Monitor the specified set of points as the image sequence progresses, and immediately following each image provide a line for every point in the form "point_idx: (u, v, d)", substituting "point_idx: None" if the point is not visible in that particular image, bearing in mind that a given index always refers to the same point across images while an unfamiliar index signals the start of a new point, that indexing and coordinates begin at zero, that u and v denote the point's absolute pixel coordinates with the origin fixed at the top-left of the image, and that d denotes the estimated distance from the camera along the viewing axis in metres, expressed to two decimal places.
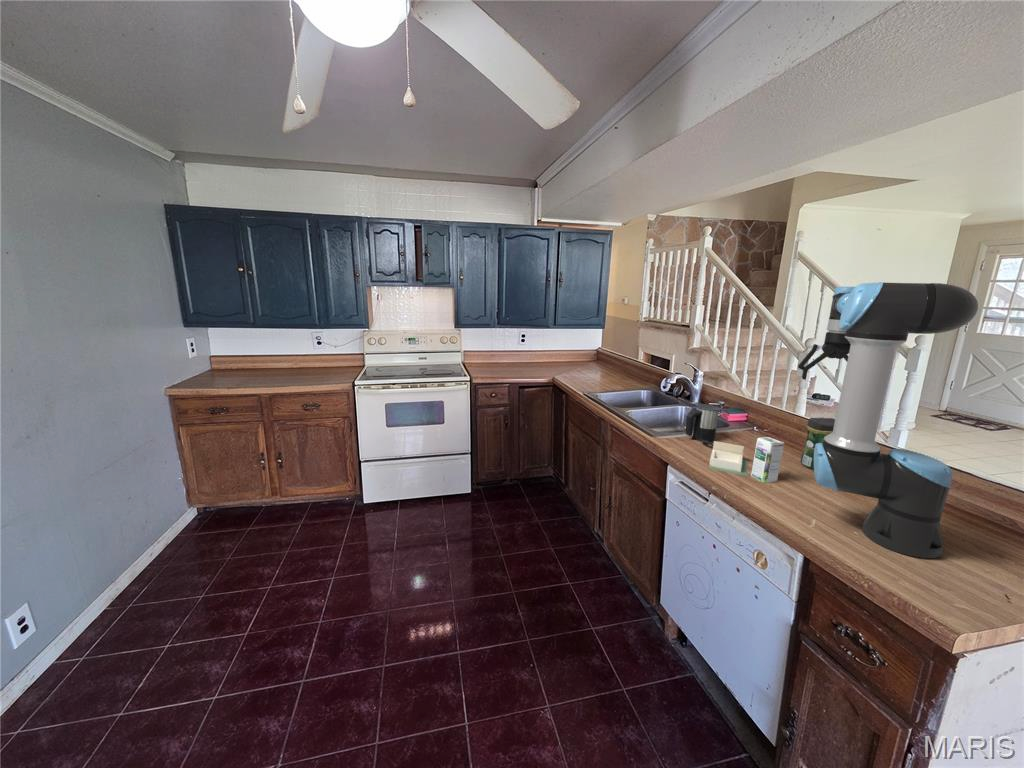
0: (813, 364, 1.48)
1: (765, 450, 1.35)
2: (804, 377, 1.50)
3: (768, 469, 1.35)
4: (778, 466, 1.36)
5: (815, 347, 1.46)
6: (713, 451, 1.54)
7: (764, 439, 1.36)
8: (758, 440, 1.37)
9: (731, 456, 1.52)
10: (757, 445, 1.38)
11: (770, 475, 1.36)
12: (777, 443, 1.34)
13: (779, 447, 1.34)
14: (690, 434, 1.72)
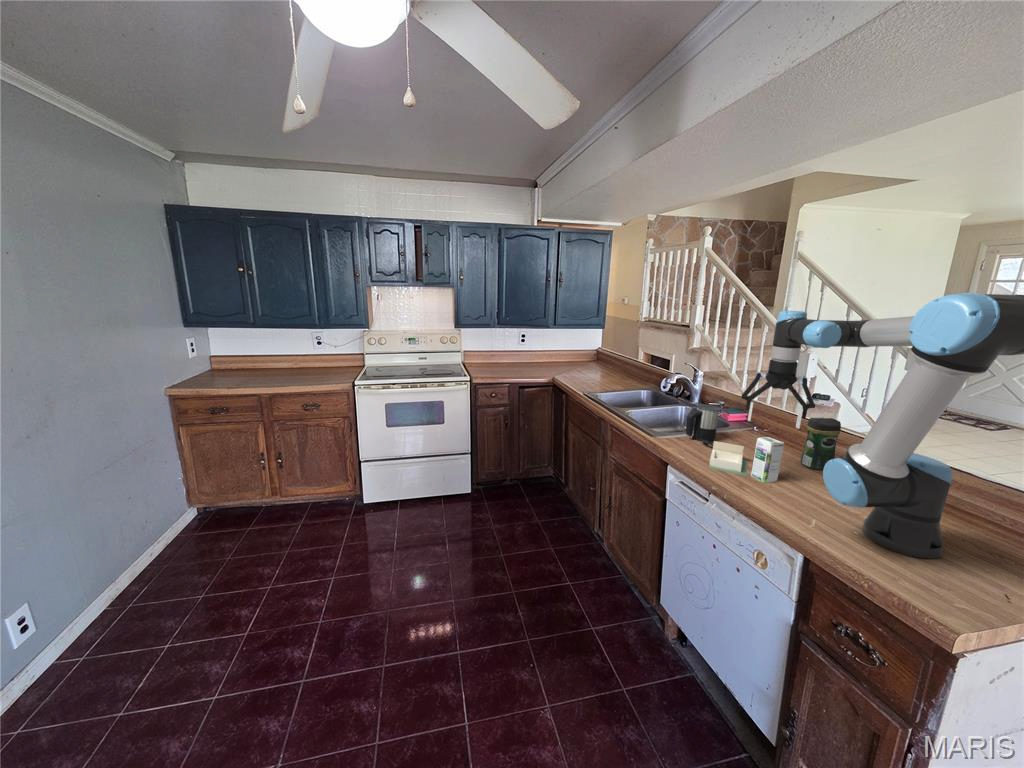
0: (756, 394, 1.35)
1: (765, 450, 1.35)
2: (747, 408, 1.37)
3: (768, 469, 1.35)
4: (778, 466, 1.36)
5: (758, 376, 1.33)
6: (713, 451, 1.54)
7: (764, 439, 1.36)
8: (758, 440, 1.37)
9: (731, 456, 1.52)
10: (757, 445, 1.38)
11: (770, 475, 1.36)
12: (777, 443, 1.34)
13: (779, 447, 1.34)
14: (690, 434, 1.72)
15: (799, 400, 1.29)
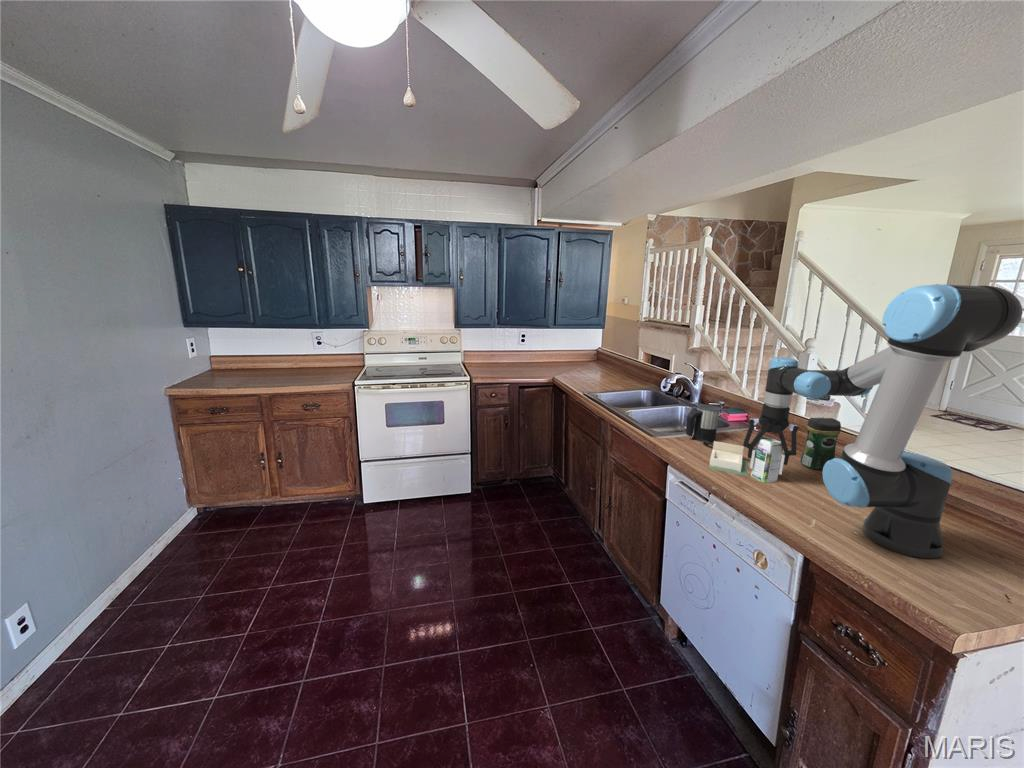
0: (756, 441, 1.37)
1: (764, 450, 1.35)
2: (749, 456, 1.39)
3: (768, 469, 1.35)
4: (778, 466, 1.36)
5: (752, 422, 1.37)
6: (713, 451, 1.54)
7: (764, 439, 1.36)
8: None
9: (731, 456, 1.52)
10: (757, 445, 1.38)
11: (770, 475, 1.36)
12: (777, 443, 1.34)
13: (779, 447, 1.34)
14: (690, 434, 1.72)
15: (784, 446, 1.33)
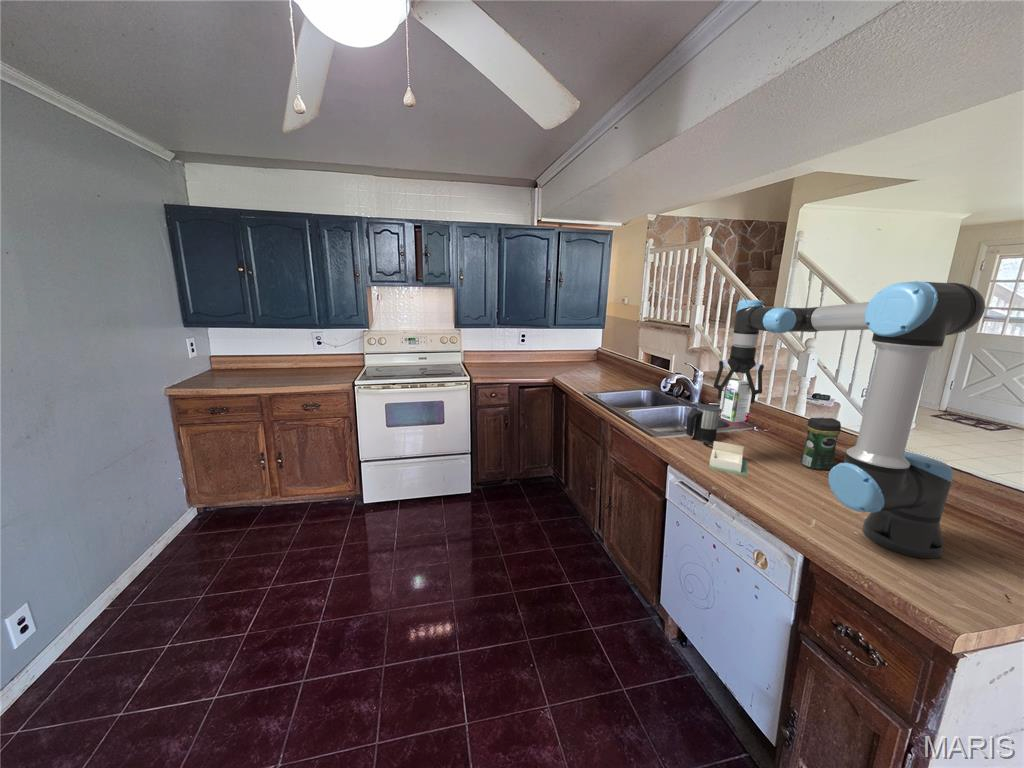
0: (725, 382, 1.44)
1: (733, 389, 1.42)
2: (719, 396, 1.46)
3: (736, 407, 1.42)
4: (746, 405, 1.43)
5: (721, 364, 1.43)
6: (713, 451, 1.54)
7: (732, 379, 1.43)
8: None
9: (731, 456, 1.52)
10: (726, 386, 1.45)
11: (738, 414, 1.43)
12: (744, 382, 1.40)
13: (746, 386, 1.41)
14: (691, 434, 1.72)
15: (750, 385, 1.40)
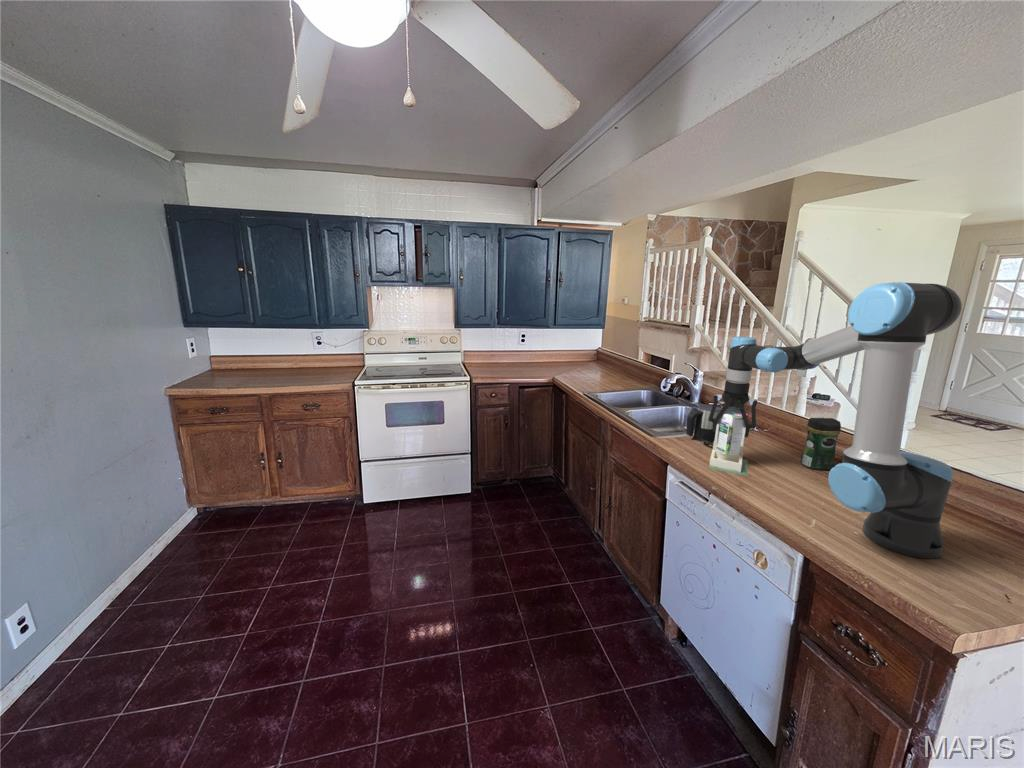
0: (720, 416, 1.47)
1: (727, 423, 1.45)
2: (714, 429, 1.49)
3: (730, 441, 1.44)
4: (740, 438, 1.46)
5: (715, 398, 1.46)
6: (713, 451, 1.54)
7: (727, 413, 1.46)
8: None
9: (731, 456, 1.52)
10: (721, 419, 1.48)
11: (733, 447, 1.45)
12: (738, 416, 1.43)
13: (740, 420, 1.44)
14: (691, 434, 1.72)
15: (744, 420, 1.43)
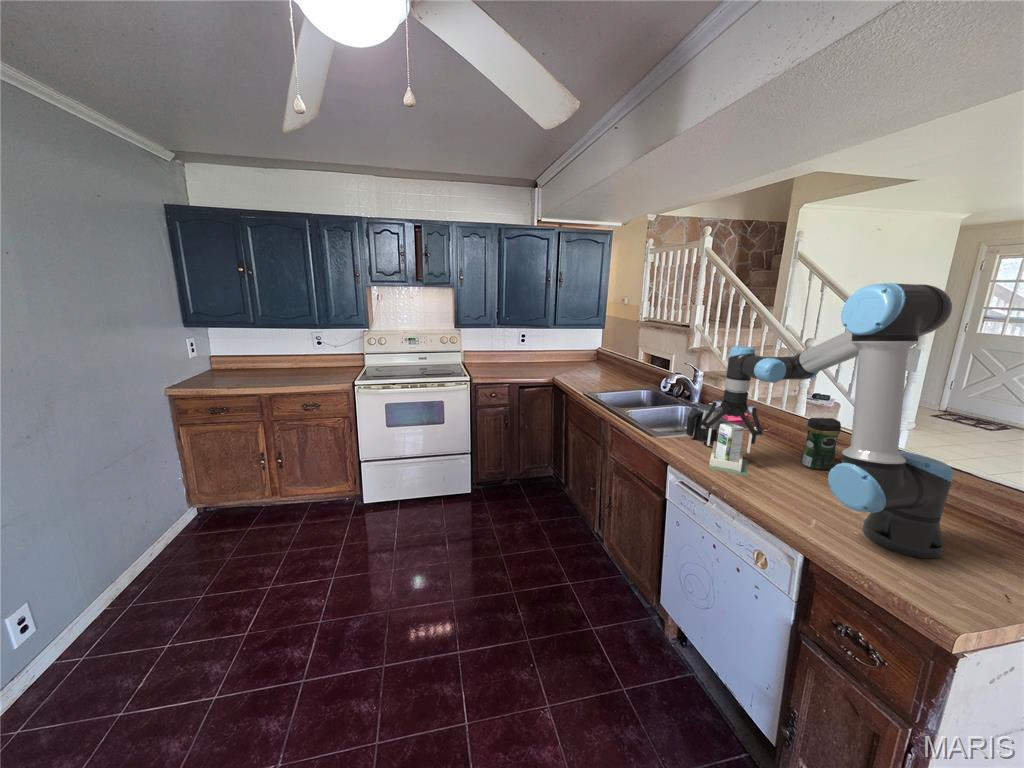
0: (714, 421, 1.48)
1: (726, 435, 1.46)
2: (706, 433, 1.51)
3: (729, 452, 1.45)
4: (739, 450, 1.46)
5: (714, 404, 1.47)
6: (713, 451, 1.54)
7: (726, 425, 1.47)
8: (720, 426, 1.48)
9: None
10: (720, 430, 1.48)
11: (732, 458, 1.46)
12: (737, 428, 1.44)
13: (739, 432, 1.45)
14: (691, 434, 1.72)
15: (749, 427, 1.43)
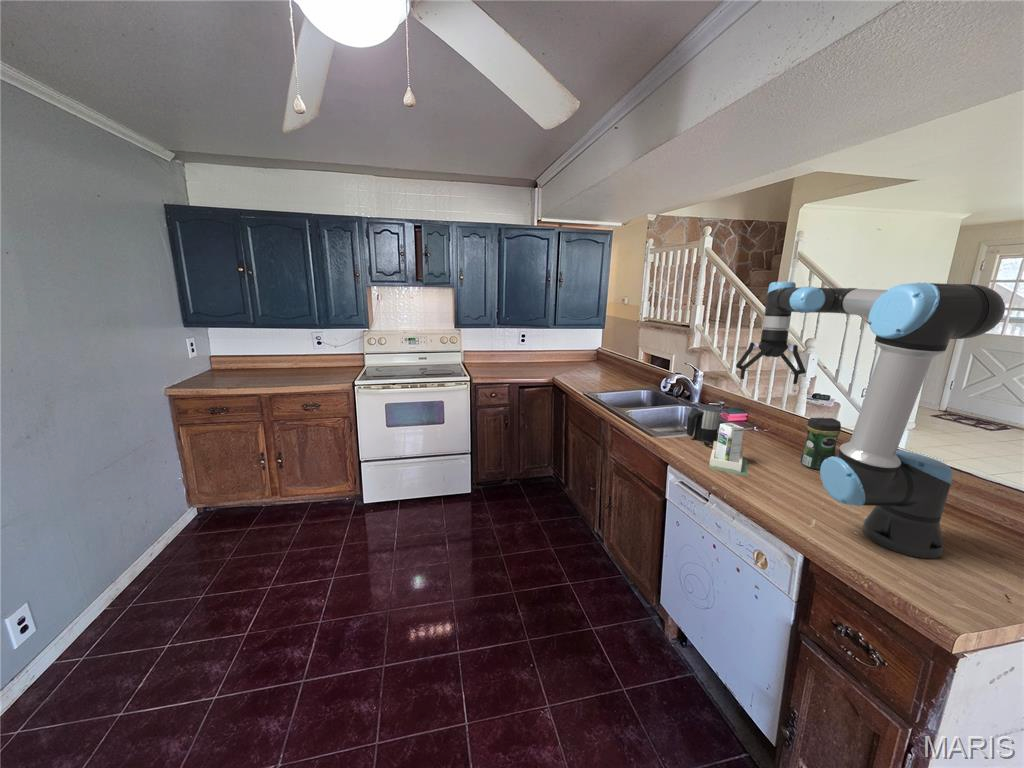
0: (750, 363, 1.42)
1: (726, 435, 1.46)
2: (742, 377, 1.44)
3: (729, 452, 1.45)
4: (739, 450, 1.46)
5: (752, 345, 1.40)
6: (713, 451, 1.54)
7: (726, 425, 1.47)
8: (720, 426, 1.48)
9: None
10: (720, 430, 1.48)
11: (732, 458, 1.46)
12: (737, 428, 1.44)
13: (739, 432, 1.45)
14: (691, 434, 1.72)
15: (790, 366, 1.36)
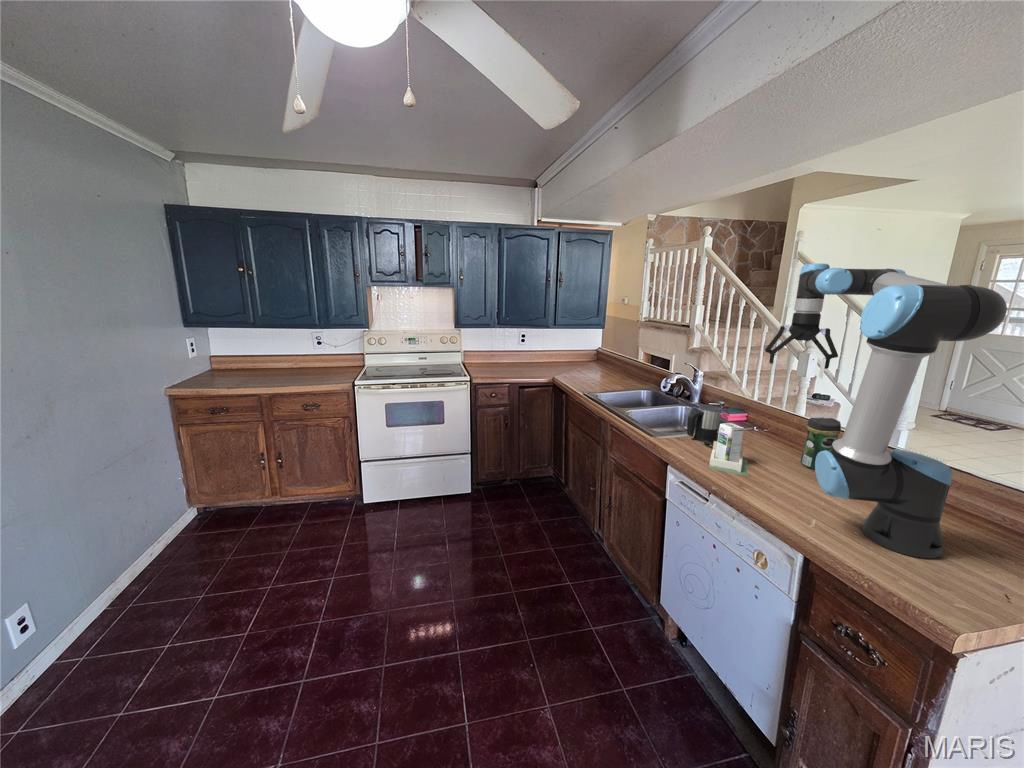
0: (780, 347, 1.40)
1: (726, 435, 1.46)
2: (771, 361, 1.42)
3: (729, 452, 1.45)
4: (739, 450, 1.46)
5: (782, 329, 1.38)
6: (713, 451, 1.54)
7: (726, 425, 1.47)
8: (720, 426, 1.48)
9: None
10: (720, 430, 1.48)
11: (731, 458, 1.46)
12: (737, 428, 1.44)
13: (739, 432, 1.45)
14: (691, 434, 1.72)
15: (822, 350, 1.34)
